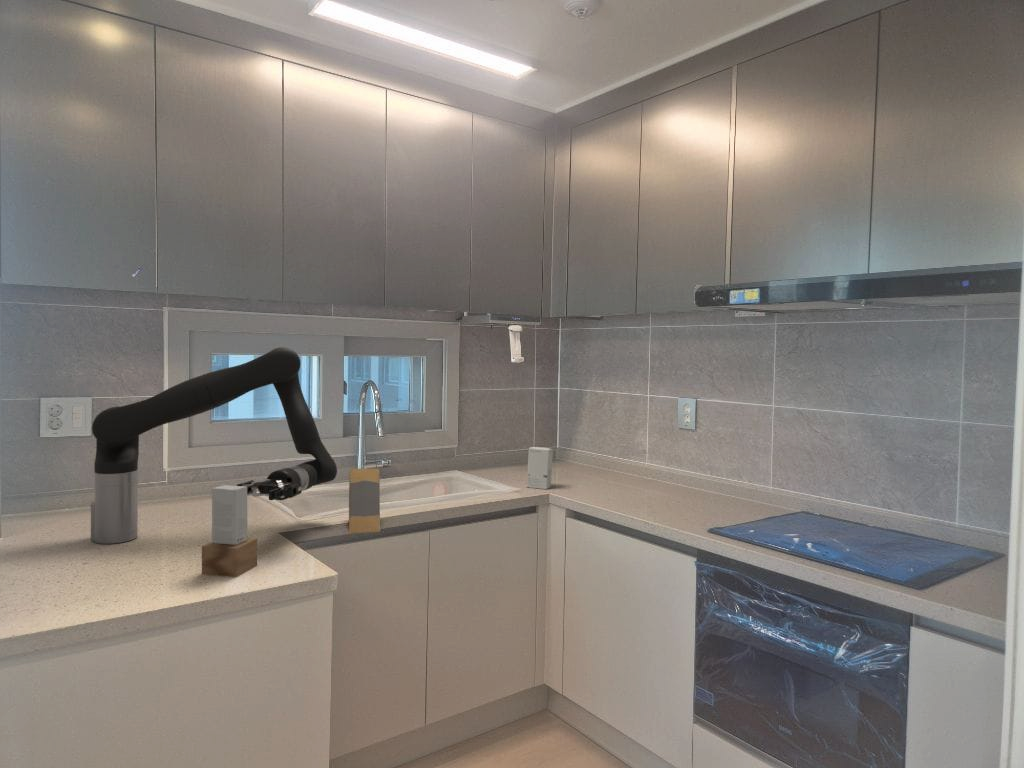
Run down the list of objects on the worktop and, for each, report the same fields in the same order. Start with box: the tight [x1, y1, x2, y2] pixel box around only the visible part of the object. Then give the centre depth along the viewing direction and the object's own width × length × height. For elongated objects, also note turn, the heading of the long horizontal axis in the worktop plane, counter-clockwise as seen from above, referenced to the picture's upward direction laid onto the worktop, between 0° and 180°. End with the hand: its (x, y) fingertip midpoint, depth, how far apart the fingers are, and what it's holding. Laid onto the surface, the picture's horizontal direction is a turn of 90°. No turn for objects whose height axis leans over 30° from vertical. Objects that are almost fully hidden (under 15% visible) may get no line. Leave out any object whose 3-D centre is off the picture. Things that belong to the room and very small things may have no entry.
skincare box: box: [211, 484, 248, 545], centre depth 139 cm, size 6×4×12 cm
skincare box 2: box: [526, 446, 554, 490], centre depth 239 cm, size 8×6×15 cm
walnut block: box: [201, 537, 258, 578], centre depth 139 cm, size 8×8×6 cm
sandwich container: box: [348, 467, 381, 534], centre depth 179 cm, size 9×15×15 cm, turn 14°
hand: (253, 495), depth 147 cm, fingers open, 8 cm apart
